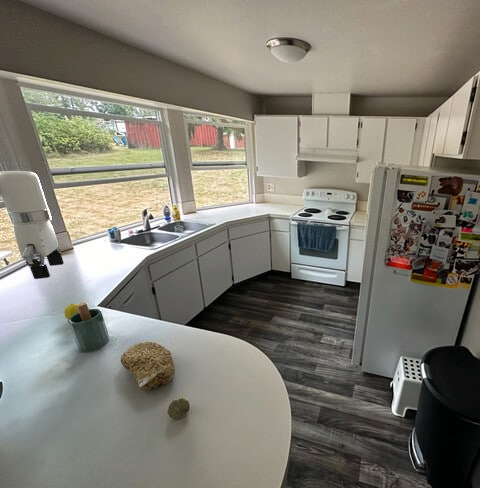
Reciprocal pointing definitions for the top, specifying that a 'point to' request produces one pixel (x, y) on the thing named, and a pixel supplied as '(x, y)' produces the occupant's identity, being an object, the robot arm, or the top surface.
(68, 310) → the lemon
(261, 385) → the top surface
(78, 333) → the teal ceramic mug
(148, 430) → the top surface
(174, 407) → the lime
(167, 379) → the beige grainy bag
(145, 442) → the top surface
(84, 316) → the brush
